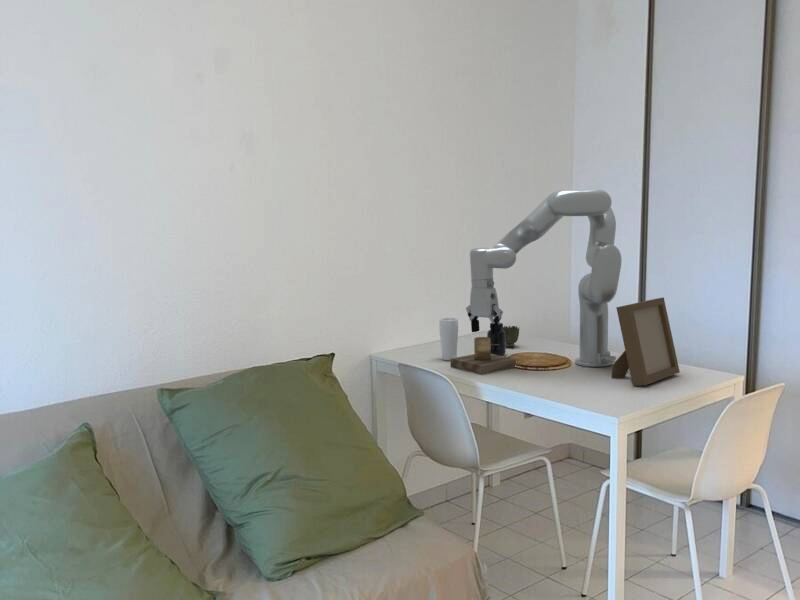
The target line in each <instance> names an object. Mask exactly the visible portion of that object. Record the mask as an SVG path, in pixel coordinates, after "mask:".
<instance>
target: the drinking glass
mask: <svg viewBox="0 0 800 600" xmlns="http://www.w3.org/2000/svg"><path fill="white" fill-rule="evenodd" d="M458 319H459V318H457V317H442V318H439V336H440V344H441V345H440V346H441V359H442V360H443V361H450V359H451V358H456V357H457V356H458V355H457V352H458V351H457V350H458V339H459V338H458V337H459V320H458Z"/></svg>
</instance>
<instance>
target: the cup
mask: <svg viewBox="0 0 800 600" xmlns="http://www.w3.org/2000/svg"><path fill="white" fill-rule="evenodd" d="M502 330H504V331H505V333H506V348H509V349H510V348H511V347H512V348H515V346H516V345H515V344H516V343H517V342H518V340H519V336H520V335H519V334H520V327H518V326H516V325H512V326H511V325H509V326H507V325H503V329H502Z"/></svg>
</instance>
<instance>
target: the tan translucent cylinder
mask: <svg viewBox="0 0 800 600" xmlns="http://www.w3.org/2000/svg"><path fill="white" fill-rule="evenodd" d="M473 342H474V347H473V349H474V350H473V351H474V353H473V354H474V355H475V357H474V359H475V360H481V361H484V360H490V359H491V338H489V337H487V336H478V337H474V340H473Z"/></svg>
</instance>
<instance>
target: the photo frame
mask: <svg viewBox="0 0 800 600" xmlns="http://www.w3.org/2000/svg"><path fill="white" fill-rule="evenodd" d="M615 309H616V313H617V317H618V318H617V319H618V322H619V327H620V332H621V337H622V340H623V346H624V351H623V352H622V353H621V354H620V356H618V357H617V358H616V360H615V361H614V362H613V363H612V365H611V366H612V368H611V379H616V378H617V379H618V378H626V375H627V373H628V371H629V374H630V375H629V376H630V378H631V384H632V387H637V386H647V385H650V384H652V383H654V382H655V383H656V382H657V381H658V382H659V381H660V380H662V379H665V378H666V379H667V378H668V377H671V376H674V375H676V374H680V372H681V371H680V368H679V367H680V366H679V364H678V363H679V362H678V358H677V353H676V349H675V343H674V339H673V333H672V330H671V325H670V320H669V314H668V311H667V306H666V301H665V297H658V298H652V299H648V300H644V301H643V300H642V301H639V302H634V303H629V304H626V305H621V306H617V307H615Z"/></svg>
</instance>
